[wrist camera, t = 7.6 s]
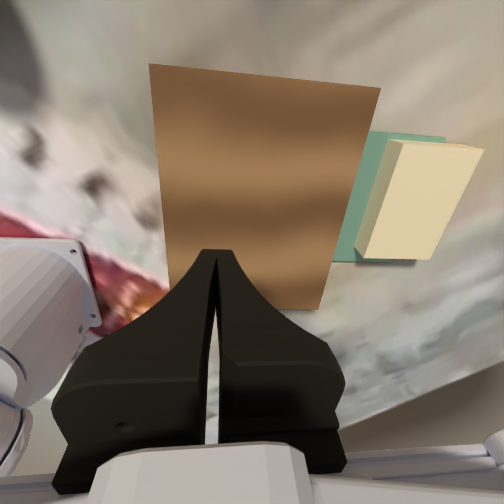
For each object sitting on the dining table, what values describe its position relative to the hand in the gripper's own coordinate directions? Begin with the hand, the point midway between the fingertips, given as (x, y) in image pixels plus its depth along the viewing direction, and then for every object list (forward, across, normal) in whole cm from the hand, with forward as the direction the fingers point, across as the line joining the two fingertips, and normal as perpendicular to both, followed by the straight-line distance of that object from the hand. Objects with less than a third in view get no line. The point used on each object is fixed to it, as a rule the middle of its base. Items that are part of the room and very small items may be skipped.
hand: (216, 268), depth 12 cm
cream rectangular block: (+8, -15, 0) cm, 17 cm away
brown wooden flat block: (+10, -2, 0) cm, 11 cm away
